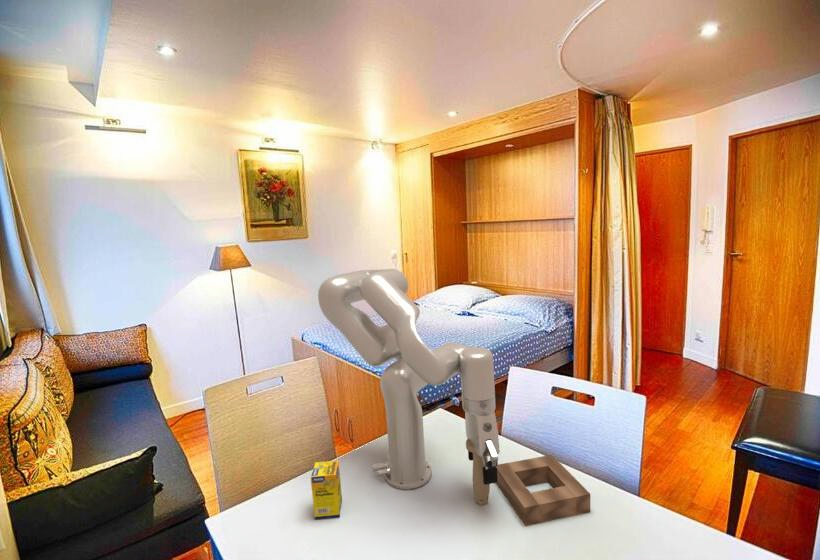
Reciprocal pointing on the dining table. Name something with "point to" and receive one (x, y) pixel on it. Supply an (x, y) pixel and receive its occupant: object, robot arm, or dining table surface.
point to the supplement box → (326, 490)
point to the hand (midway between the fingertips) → (482, 470)
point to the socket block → (546, 503)
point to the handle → (478, 476)
